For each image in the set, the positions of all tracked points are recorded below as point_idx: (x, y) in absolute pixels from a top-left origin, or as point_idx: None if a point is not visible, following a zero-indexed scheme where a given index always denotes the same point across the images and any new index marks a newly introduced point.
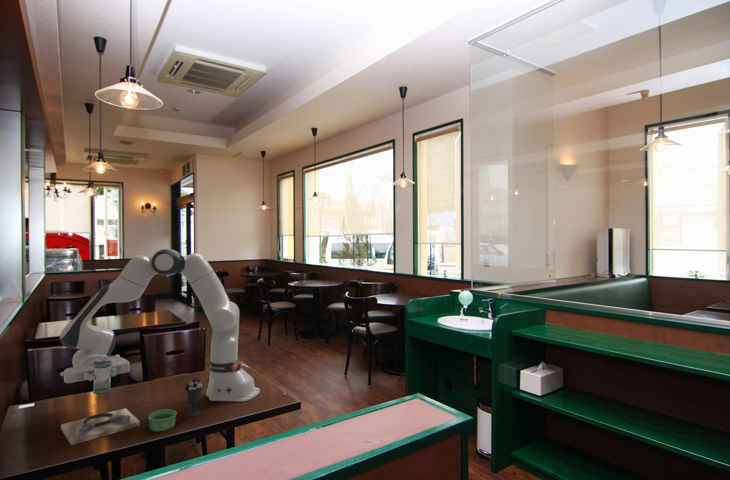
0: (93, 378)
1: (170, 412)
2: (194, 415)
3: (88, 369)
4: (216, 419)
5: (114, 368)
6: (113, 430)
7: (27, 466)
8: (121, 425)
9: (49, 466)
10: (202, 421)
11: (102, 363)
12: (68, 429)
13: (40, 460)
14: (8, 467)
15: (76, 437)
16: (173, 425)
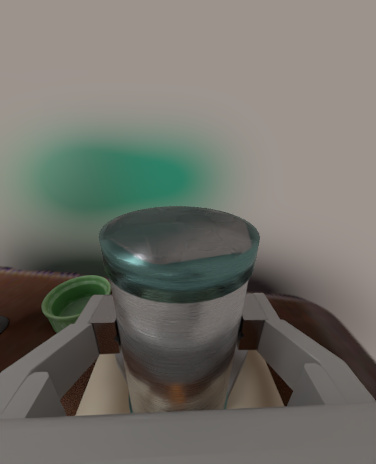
0: None
1: (48, 307)
2: (2, 317)
3: (351, 432)
4: (15, 282)
5: (26, 368)
6: None
7: (308, 313)
8: None
9: (270, 295)
10: (32, 289)
11: (187, 220)
12: None
13: (295, 320)
14: (344, 329)
15: (248, 350)
16: (76, 298)
